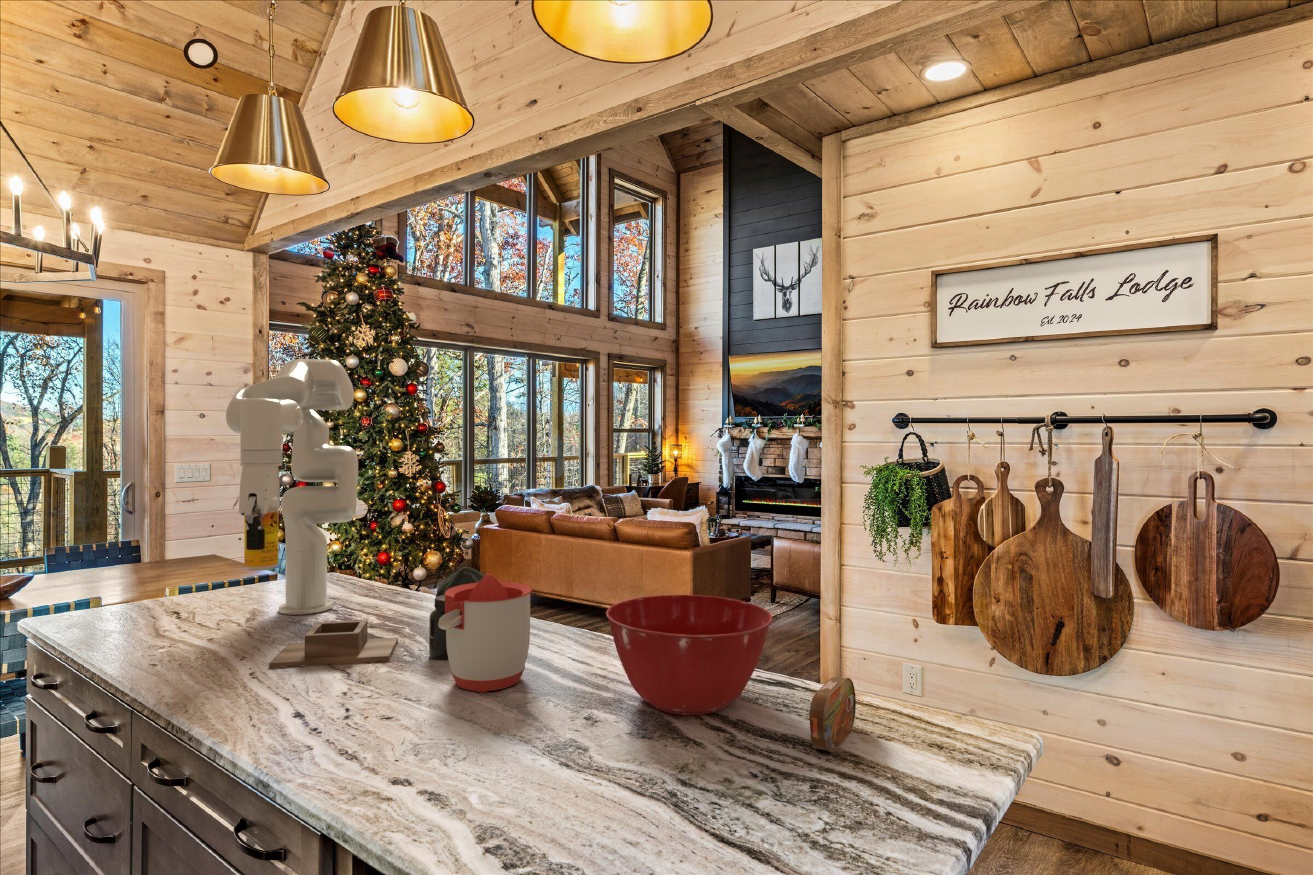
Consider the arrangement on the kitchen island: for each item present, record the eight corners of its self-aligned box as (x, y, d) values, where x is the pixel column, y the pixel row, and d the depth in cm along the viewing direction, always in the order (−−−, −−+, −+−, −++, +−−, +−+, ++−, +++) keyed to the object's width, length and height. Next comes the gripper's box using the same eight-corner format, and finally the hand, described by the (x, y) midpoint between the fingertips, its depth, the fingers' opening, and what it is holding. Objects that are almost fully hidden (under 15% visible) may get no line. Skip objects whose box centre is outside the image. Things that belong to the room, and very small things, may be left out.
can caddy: (288, 648, 151) (288, 622, 151) (398, 642, 156) (398, 616, 156) (268, 668, 139) (268, 639, 138) (388, 660, 143) (388, 633, 143)
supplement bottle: (421, 658, 145) (421, 599, 145) (443, 648, 151) (443, 592, 151) (449, 662, 143) (449, 602, 142) (470, 652, 149) (470, 595, 149)
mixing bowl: (684, 662, 143) (685, 585, 143) (805, 701, 123) (805, 612, 123) (572, 698, 124) (573, 609, 123) (694, 752, 103) (694, 646, 103)
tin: (826, 761, 101) (827, 702, 101) (805, 756, 102) (805, 697, 102) (857, 724, 114) (858, 671, 113) (838, 720, 115) (838, 668, 115)
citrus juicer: (419, 684, 130) (419, 575, 130) (499, 662, 143) (499, 562, 143) (466, 707, 119) (466, 588, 119) (548, 681, 132) (549, 573, 132)
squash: (479, 590, 183) (448, 551, 174) (520, 601, 174) (490, 561, 165) (444, 636, 174) (410, 598, 166) (485, 650, 166) (451, 610, 157)
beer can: (267, 571, 143) (267, 496, 143) (237, 571, 143) (237, 496, 143) (284, 565, 149) (284, 493, 149) (256, 565, 149) (256, 493, 149)
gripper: (256, 457, 154) (257, 540, 154) (224, 460, 137) (224, 554, 137) (294, 457, 155) (294, 539, 155) (266, 460, 138) (266, 553, 138)
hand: (261, 545), depth 146 cm, fingers closed on beer can, 6 cm apart
